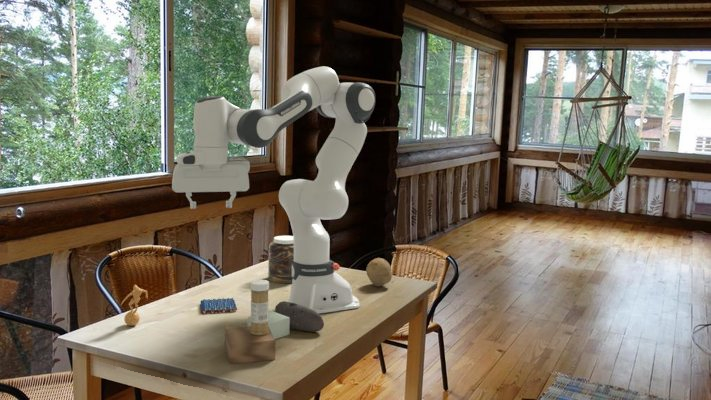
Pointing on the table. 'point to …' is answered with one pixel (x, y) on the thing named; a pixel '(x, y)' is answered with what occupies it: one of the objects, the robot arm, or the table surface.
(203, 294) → the table surface
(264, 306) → the sprinkles bottle
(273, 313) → the grey-green block
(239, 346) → the walnut block
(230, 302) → the woven mat
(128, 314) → the figurine
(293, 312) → the perforated stone tool
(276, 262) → the jar
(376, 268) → the natural sponge
